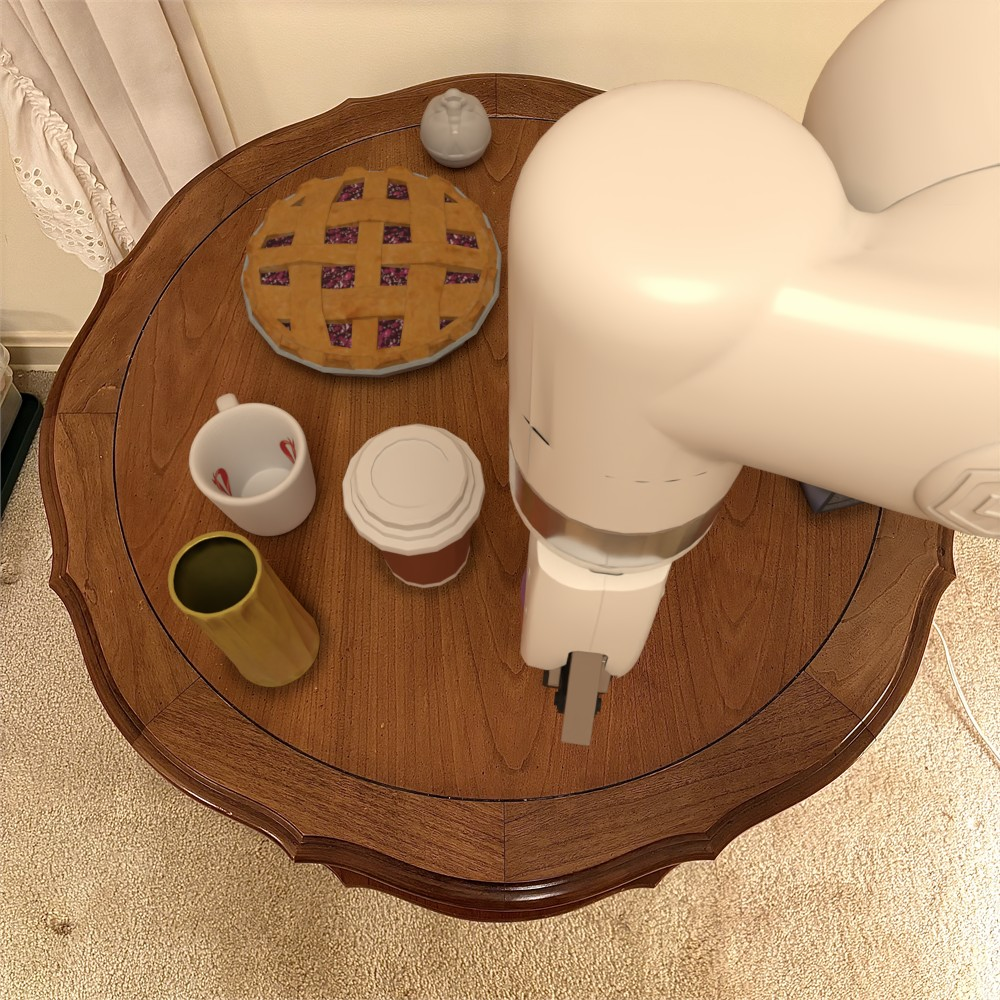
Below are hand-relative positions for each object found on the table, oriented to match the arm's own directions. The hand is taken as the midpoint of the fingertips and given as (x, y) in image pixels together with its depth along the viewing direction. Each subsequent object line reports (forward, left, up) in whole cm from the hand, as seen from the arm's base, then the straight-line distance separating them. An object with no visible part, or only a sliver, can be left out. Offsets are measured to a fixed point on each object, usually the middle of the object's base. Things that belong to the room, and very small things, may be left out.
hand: (581, 617), depth 44 cm
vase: (+20, 0, -15) cm, 26 cm away
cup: (+24, -12, -15) cm, 31 cm away
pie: (+20, -32, -15) cm, 41 cm away
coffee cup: (+11, -9, -15) cm, 21 cm away
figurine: (+16, -49, -15) cm, 54 cm away
